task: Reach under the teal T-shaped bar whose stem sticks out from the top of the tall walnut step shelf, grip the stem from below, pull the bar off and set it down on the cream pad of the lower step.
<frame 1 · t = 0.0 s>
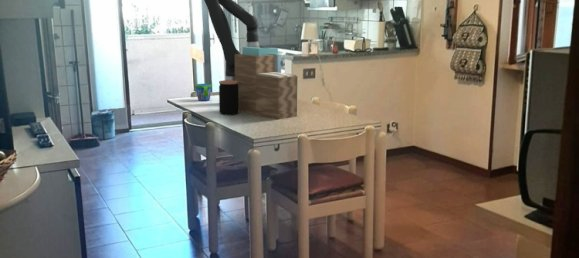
hand: (255, 76, 343), 17 cm above the table, tool pointing down, fingers open, 8 cm apart
t bar: (253, 54, 316), point 32 cm above the table, touching step shelf
step shelf: (265, 113, 317), on the table
coffee jar: (229, 114, 315), on the table
snack cup: (203, 100, 359), on the table
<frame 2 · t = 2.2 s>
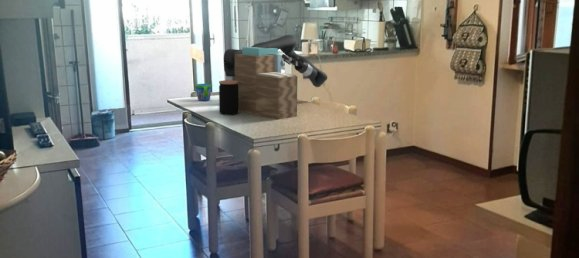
hand: (287, 55, 334), 30 cm above the table, tool pointing upward, fingers open, 8 cm apart
nothing on the table moved.
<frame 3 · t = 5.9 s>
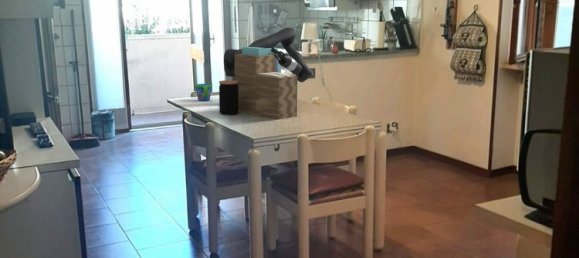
hand: (269, 48, 323), 35 cm above the table, tool pointing upward, fingers closed on t bar, 4 cm apart
t bar: (253, 54, 316), point 32 cm above the table, touching gripper, step shelf
everything else where it was.
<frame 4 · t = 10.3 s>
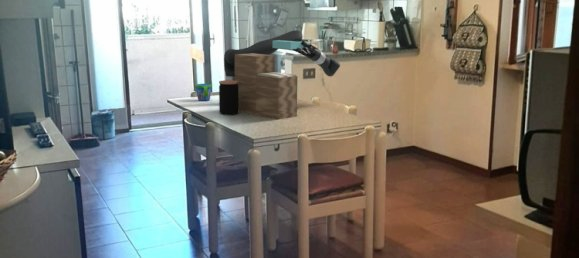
hand: (299, 42, 320), 39 cm above the table, tool pointing upward, fingers closed on t bar, 4 cm apart
t bar: (284, 48, 313), point 36 cm above the table, touching gripper
everything else where it was.
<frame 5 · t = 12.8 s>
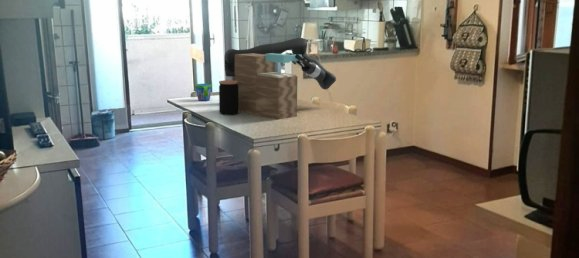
hand: (293, 55, 312), 32 cm above the table, tool pointing upward, fingers closed on t bar, 4 cm apart
t bar: (277, 61, 305), point 29 cm above the table, touching gripper
everything else where it was.
when the fingers open (27 cm above the table, at t = 14.7 s): t bar drops 1 cm, resting on step shelf.
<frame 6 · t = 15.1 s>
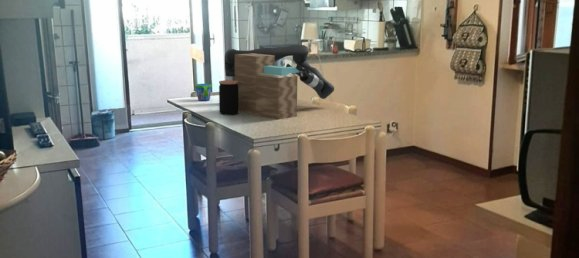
hand: (291, 65, 313), 27 cm above the table, tool pointing upward, fingers open, 7 cm apart
t bar: (275, 74, 305), point 23 cm above the table, touching step shelf
everything else where it was.
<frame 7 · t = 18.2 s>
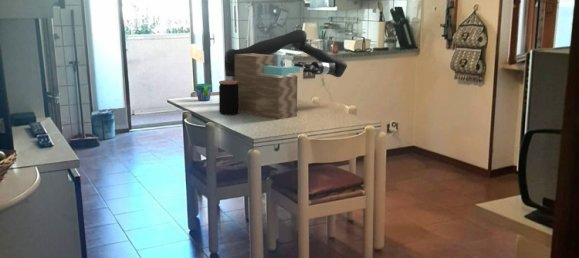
hand: (299, 67, 320), 25 cm above the table, tool horizontal, fingers open, 8 cm apart
nothing on the table moved.
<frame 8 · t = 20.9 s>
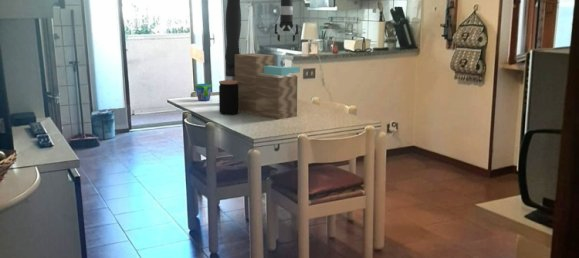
hand: (286, 41, 343), 38 cm above the table, tool pointing down, fingers open, 8 cm apart
nothing on the table moved.
at the end: t bar inside the target area (0.1 cm from its centre), point 22.8 cm above the table; t bar tilted 0°; the gripper is holding nothing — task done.
